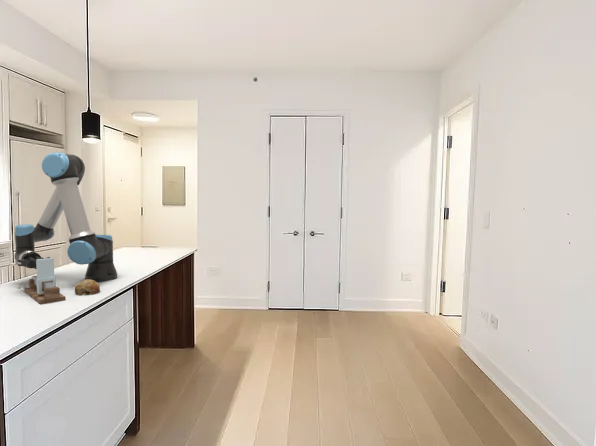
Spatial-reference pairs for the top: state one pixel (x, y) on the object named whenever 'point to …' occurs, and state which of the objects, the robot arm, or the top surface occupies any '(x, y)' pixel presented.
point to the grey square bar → (44, 283)
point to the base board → (48, 295)
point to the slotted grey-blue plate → (44, 273)
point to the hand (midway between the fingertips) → (43, 266)
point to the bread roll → (87, 287)
